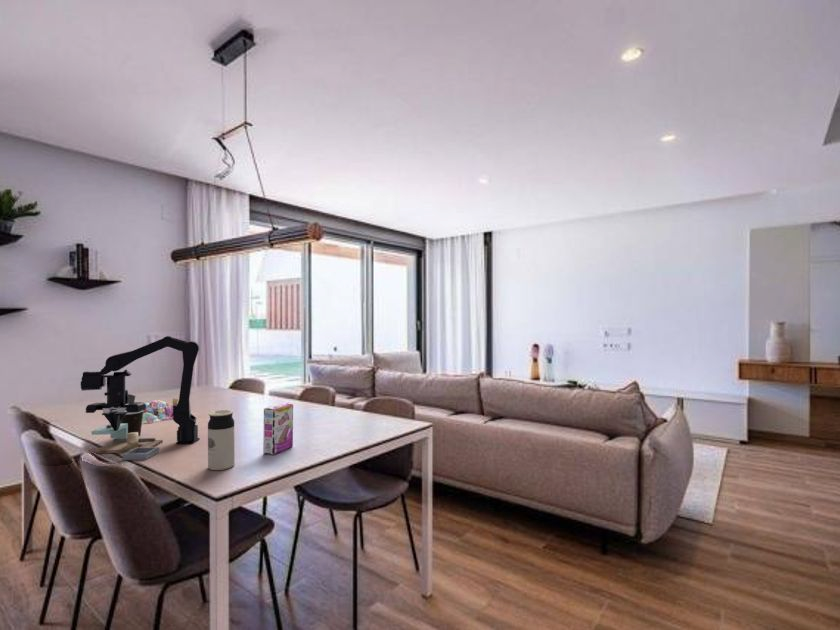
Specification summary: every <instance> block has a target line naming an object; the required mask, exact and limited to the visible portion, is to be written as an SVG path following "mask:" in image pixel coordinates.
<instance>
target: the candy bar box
mask: <svg viewBox="0 0 840 630" xmlns="http://www.w3.org/2000/svg"><path fill="white" fill-rule="evenodd" d="M293 438H294V404H293V403H284V402H283V403H278V404H276V405H272V406H268V407H263V443H262V444H263V447H262V448H263V450H262V451H263V454H265V455H270V456H275V455H277V454H279V453H281V452H284V451H286V450H289V449H290V448H293V447H294V443H293V442H294V439H293Z"/></svg>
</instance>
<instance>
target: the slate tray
mask: <svg viewBox="0 0 840 630" xmlns="http://www.w3.org/2000/svg"><path fill="white" fill-rule="evenodd" d="M159 453H160V447H159V446H155V447H136V448H134V449H132V450H130V451H128V452H126V453H122V461H147V460H149V459H151V457H153V456H156V455H157V454H159ZM155 454H156V455H155Z"/></svg>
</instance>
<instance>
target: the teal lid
mask: <svg viewBox="0 0 840 630" xmlns="http://www.w3.org/2000/svg"><path fill="white" fill-rule="evenodd" d="M127 434H128V423H124V424H120V427H119V429H118V430H117V431H114V429H113V428H112V426H111V424H110V423H109V424H107V425H105V426H101V427H99V428H97V429H94V430H91V435H95V436H97V435H110V438H109V439H115V438H127Z"/></svg>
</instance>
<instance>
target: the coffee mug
mask: <svg viewBox="0 0 840 630" xmlns="http://www.w3.org/2000/svg"><path fill="white" fill-rule="evenodd" d="M142 418H143V410H142V411H139V412H128V413H126V414H125V416H124V417H123V419H122V422H121V424H124V423H128V433H131V432H138V436H139V437H141V433H142V426H143V424H142Z"/></svg>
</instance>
